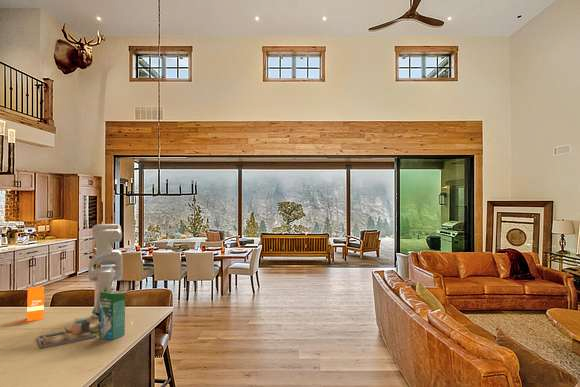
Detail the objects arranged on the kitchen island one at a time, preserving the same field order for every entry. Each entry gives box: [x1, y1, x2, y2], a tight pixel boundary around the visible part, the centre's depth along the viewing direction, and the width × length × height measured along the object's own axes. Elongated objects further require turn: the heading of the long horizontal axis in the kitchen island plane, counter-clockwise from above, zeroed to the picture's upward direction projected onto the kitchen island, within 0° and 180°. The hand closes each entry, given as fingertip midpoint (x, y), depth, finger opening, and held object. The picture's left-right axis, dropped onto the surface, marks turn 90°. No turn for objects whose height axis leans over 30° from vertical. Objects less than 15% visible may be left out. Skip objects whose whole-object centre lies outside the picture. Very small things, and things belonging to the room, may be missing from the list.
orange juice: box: [26, 285, 45, 322], centre depth 237 cm, size 8×9×20 cm
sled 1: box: [42, 320, 91, 345], centre depth 199 cm, size 21×7×8 cm, turn 129°
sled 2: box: [64, 322, 100, 334], centre depth 213 cm, size 21×7×8 cm, turn 129°
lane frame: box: [36, 330, 98, 350], centre depth 202 cm, size 26×19×1 cm
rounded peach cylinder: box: [71, 323, 81, 335], centre depth 201 cm, size 4×4×5 cm
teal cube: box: [74, 317, 88, 329], centre depth 211 cm, size 5×5×5 cm
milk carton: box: [98, 290, 126, 341], centre depth 205 cm, size 9×9×25 cm
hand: (104, 322), depth 218 cm, fingers closed on sled 2, 3 cm apart
